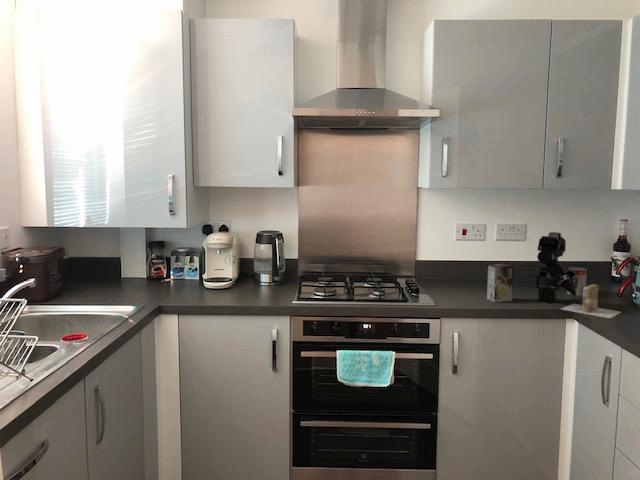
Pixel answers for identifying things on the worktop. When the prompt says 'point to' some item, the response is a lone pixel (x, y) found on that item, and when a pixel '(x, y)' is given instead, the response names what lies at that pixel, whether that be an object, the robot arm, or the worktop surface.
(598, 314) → the mat
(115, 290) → the worktop surface
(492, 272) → the coffee box
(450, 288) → the worktop surface
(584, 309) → the plaque
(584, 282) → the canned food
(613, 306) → the worktop surface
